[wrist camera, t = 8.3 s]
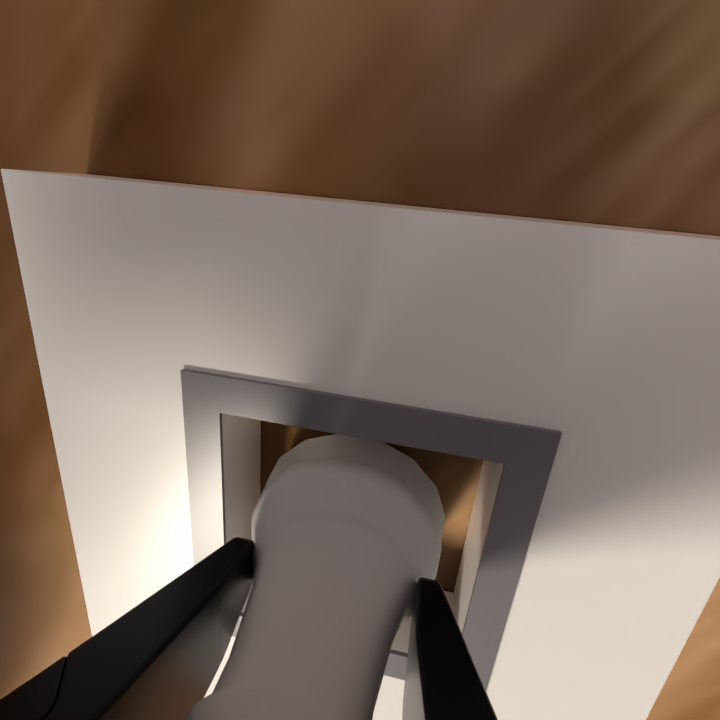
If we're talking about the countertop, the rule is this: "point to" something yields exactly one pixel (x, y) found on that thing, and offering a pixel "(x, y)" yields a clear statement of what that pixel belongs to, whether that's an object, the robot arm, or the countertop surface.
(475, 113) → the countertop surface
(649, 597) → the socket block
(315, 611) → the rook chess piece
